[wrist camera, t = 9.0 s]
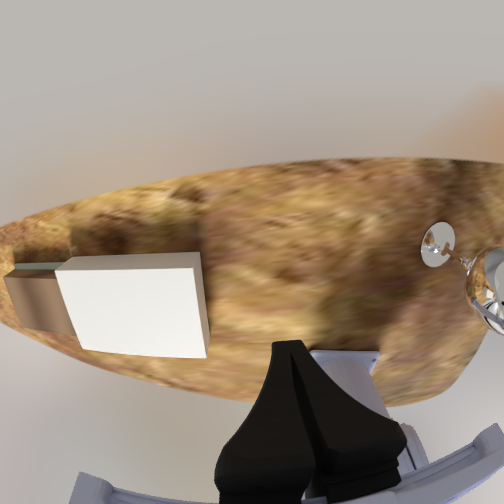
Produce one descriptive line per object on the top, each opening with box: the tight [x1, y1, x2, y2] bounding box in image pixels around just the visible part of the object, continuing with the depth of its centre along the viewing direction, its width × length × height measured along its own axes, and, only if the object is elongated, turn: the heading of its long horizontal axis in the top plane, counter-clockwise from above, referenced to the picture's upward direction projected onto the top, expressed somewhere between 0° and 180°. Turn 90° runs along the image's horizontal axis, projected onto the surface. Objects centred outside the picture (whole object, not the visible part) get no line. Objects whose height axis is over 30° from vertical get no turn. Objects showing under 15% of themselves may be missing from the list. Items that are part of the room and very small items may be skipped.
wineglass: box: [421, 222, 504, 337], centre depth 16 cm, size 6×6×12 cm
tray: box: [55, 252, 210, 358], centre depth 21 cm, size 12×8×3 cm, turn 92°
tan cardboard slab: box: [3, 269, 77, 336], centre depth 21 cm, size 9×6×2 cm, turn 91°
